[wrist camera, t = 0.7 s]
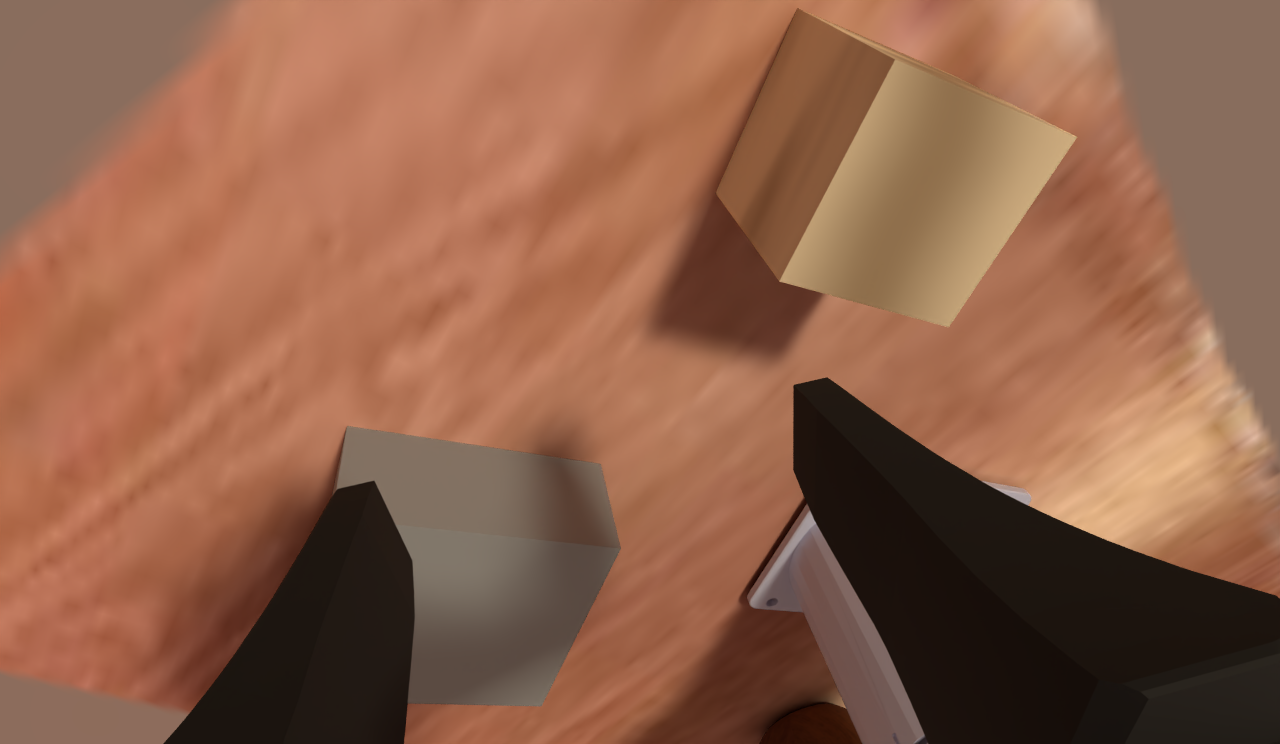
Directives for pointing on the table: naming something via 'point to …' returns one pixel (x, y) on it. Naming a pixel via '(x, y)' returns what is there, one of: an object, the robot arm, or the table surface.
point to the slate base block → (489, 559)
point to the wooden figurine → (814, 727)
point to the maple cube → (882, 173)
